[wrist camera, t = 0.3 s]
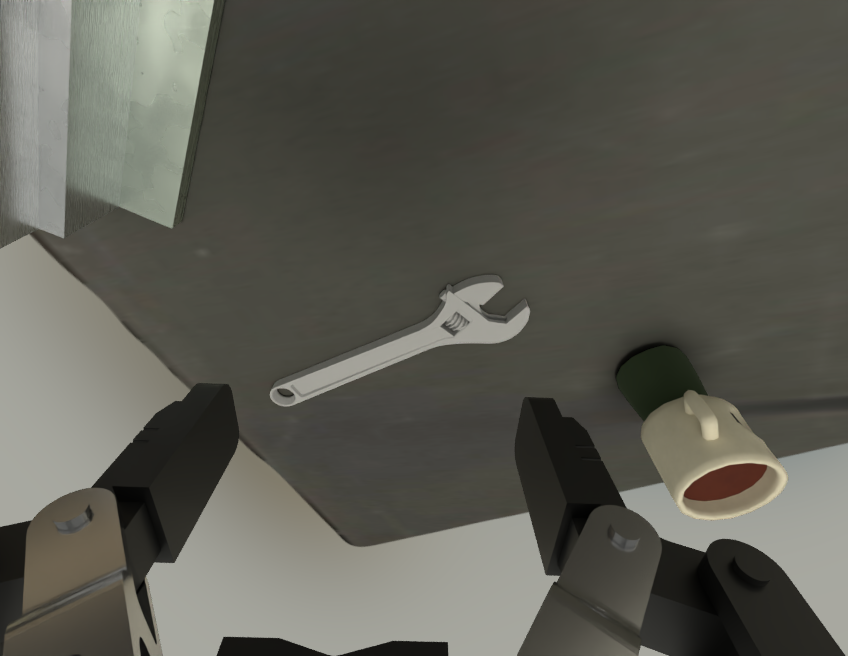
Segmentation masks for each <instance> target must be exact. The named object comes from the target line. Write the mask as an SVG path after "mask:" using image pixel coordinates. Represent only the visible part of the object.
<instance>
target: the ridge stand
mask: <svg viewBox="0 0 848 656" xmlns="http://www.w3.org/2000/svg"><path fill="white" fill-rule="evenodd" d="M224 3H225V0H0V248H2V247H4V246H6V245H8V244H10V243H12V242H14V241H16V240H18V239H20V238H21V237H23V236H26V235H28V234H30V233H32V232H33V231H35V230H37V229H41V230H44V231H46V232H49V233H52V234H54V235H57V236H59V237H62V238H66V237H67V236H69V235H71V234H72V233H74V232H76V231H78V230H79V229H81V228H83V227H85V226H86V225H88V224H90V223H92V222H93V221H95V220H97V219H99V218H100V217H102V216H104V215H106V214H107V213H109V212H111V211H113V210H114V209H116V208H118V207H121V208H124V209H126V210H129V211H131V212H133V213H136V214H138V215H141V216H143V217H145V218H148V219H150V220H153V221H155V222H157V223H160V224H162V225H165V226H167V227H169V228H172V229H173V228H174V227H175V226H176V225H178V224H179V223H180V222H181V221H182V219H183V214H184V209H185V204H186V198H187V193H188V188H189V183H190V178H191V173H192V168H193V163H194V157H195V152H196V147H197V142H198V137H199V132H200V127H201V121H202V116H203V111H204V106H205V101H206V96H207V91H208V86H209V80H210V75H211V70H212V65H213V60H214V55H215V50H216V44H217V39H218V34H219V29H220V24H221V19H222V14H223V8H224Z"/></svg>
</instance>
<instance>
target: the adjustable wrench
mask: <svg viewBox="0 0 848 656" xmlns="http://www.w3.org/2000/svg"><path fill="white" fill-rule="evenodd" d="M502 287H503V283H502V279H501V278H500V277H499V276H498V275H481V276H475V277H472V278H469V279H466V280H464V281H462V282H460V283H458V284H456V285H454V286H451V285H450V284H449V283H448V285H447V286H446V290H443V291H442V292H441V293H440V295H439V297H440V298H441V299H442V300H443V301H442V303H441V304H440V306H439V307H438V309H437V310H436V311H435V312H434V314H433V315H431V316H430V317H429V318H427V319H426V320H424V321H422V322H420V323H418V324H416V325H413V326H411V327H408V328H406V329H403V330H401V331H398V332H396V333H394V334H391V335H389V336H386V337H384V338H381V339H379V340H376V341H374V342H371V343H369V344H366V345H364V346H361V347H359V348H357V349H354V350H352V351H349V352H347V353H344V354H342V355H339V356H337V357H334V358H332V359H329V360H327V361H324V362H322V363H320V364H317V365H315V366H312V367H310V368H307V369H305V370H302V371H300V372H297V373H295V374H292V375H290V376H287V377H285V378H283V379H280V380H278V381H276V382H275V383H274V385H273V387H272V389H271V392H270V397H271V399H272V400H273V402H275V403H276V404H278V405H281V406H292V405H294V404H297V403H299V402H302V401H304V400H307V399H309V398H311V397H314V396H316V395H319V394H321V393H324V392H326V391H328V390H331V389H333V388H336V387H338V386H341V385H343V384H345V383H348V382H350V381H353V380H355V379H358V378H360V377H362V376H365V375H367V374H370V373H372V372H375V371H377V370H379V369H382V368H384V367H387V366H389V365H392V364H394V363H396V362H399V361H401V360H404V359H406V358H409V357H411V356H413V355H416V354H418V353H421V352H423V351H426V350H428V349H431V348H434V347H437V346H441V345H447V344H460V343H499V342H503V341H506V340H508V339H510V338H512V337H513V336H515V335H516V334H518V333H519V332H520V331H521V330H522V329H523V327H524V326H525V324H526V323H527V321H528V319H529V314H530V309H529V306H528V303H527V301H526V299H525V298H524V299H523V300H522V301H521V302H520V303H519V304H517V305H516V306H515V307H514V308H513V309H512V310H511V311H509V312H508V313H507V314H506V315H505V316H501V315H494V314H487V313H486V312H485V311H483V310H482V309H481V308H480V306H479V304H481V305H484V304H485V303H486V302H487V301H488V300H489V299H490V298H491V297H492V296H493V295H495V294H496V293H497V292H498V291H499V290H500V289H501V288H502ZM444 322H445V323H444ZM278 388H285V389H288V390H290V391H292V392H293V393H294V395H293V396H284V395H281V394H280V393H279V392H278V391H277V389H278Z"/></svg>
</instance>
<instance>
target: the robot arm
mask: <svg viewBox="0 0 848 656" xmlns="http://www.w3.org/2000/svg"><path fill="white" fill-rule="evenodd" d="M238 439H239V427H238V422H237V417H236V411H235V406H234V400H233V395H232V390H231V388H230V386H229V385H228V384H208V383H198V384H196V385H195V386H194V387H193V388H192V390H191V391H190V392H189V393H188V394H187V396H186V397H185V398H184V399H183V400H182V401H175V402H173V403H172V404H170V405H168V406H167V407H165V408H164V409H162V410H161V411H159V412H157V413H156V414H155V415H154V416H153V418H152V419H151V420H150V421H149V422H148V423H147V424H146V426H145V427H144V430H143V431H140V433H139V434H138V435H137V436H136V437H135V438H134V439H133V443H130V444H129V445H128V446H127V447H126V449H124V451H123V452H122V453H121V454H120V455H119V456H118V457H117V459H116V460H115V461H114V462H113V463H112V464H111V465H110V467H109V468H108V469H107V470H106V471H105V472H104V473H103V475H102V476H101V477H100V478H99V479H98V480H97V481H96V483H95V484H94V485H93V486H92V487H91V488H86V489H82V490H78V491H75V492H72V493H69V494H67V495H64V496H62V497H60V498H58V499H57V500H55V501H54V502H52V503H50V504H49V505H47V506H46V507H45V508H43V509H42V510H41V511H40V512H39V513H38V514H37V515H36V516H35V517H34V519H33V520H32V521H26V522H22V523H17V524H13V525H8V526H3V527H0V656H163V654H162V649H161V644H160V639H159V634H158V629H157V624H156V619H155V614H154V609H153V604H152V599H151V594H150V589H149V584H148V581H147V578H146V575H147V573H148V572H149V570H150V568H151V567H152V565H153V563H154V562H160V563H174V562H175V561H176V559H177V557H178V555H179V553H180V552H181V550H182V548H183V546H184V544H185V542H186V541H187V539H188V537H189V535H190V533H191V531H192V530H193V528H194V526H195V524H196V522H197V521H198V519H199V517H200V515H201V513H202V511H203V509H204V508H205V506H206V504H207V502H208V500H209V498H210V497H211V495H212V493H213V491H214V489H215V488H216V486H217V484H218V482H219V480H220V479H221V477H222V475H223V473H224V471H225V469H226V468H227V466H228V464H229V462H230V460H231V458H232V457H233V455H234V453H235V450H236V448H237V444H238ZM515 460H516V465H517V469H518V472H519V476H520V480H521V484H522V487H523V491H524V495H525V499H526V503H527V506H528V510H529V514H530V517H531V521H532V525H533V529H534V533H535V536H536V540H537V544H538V548H539V551H540V555H541V559H542V563H543V566H544V570H545V574H546V575H554V576H555V575H557V576H560V577H559V579H558V581H557V583H556V582H554V583H553V585H552V586H551V588H550V590H549V592H548V594H547V596H546V598H545V600H544V602H543V604H542V606H541V608H540V610H539V612H538V614H537V616H536V618H535V620H534V622H533V624H532V626H531V628H530V630H529V632H528V634H527V636H526V638H525V640H524V642H523V644H522V646H521V648H520V650H519V652H518V654H517V656H638V654H639V650H640V646H641V645H642V646H645V647H647V648H650V649H653V650H655V651H658V652H661V653H663V654H666V655H669V656H845V654H844V653H843V652H842V650H841V649H840V648H839V646H838V645H837V643H836V642H835V641H834V639H833V638H832V637H831V635H830V634H829V632H828V631H827V630H826V628H825V627H824V626H823V624H822V623H821V621H820V620H819V619H818V617H817V616H816V614H815V613H814V612H813V610H812V609H811V608H810V606H809V605H808V603H807V602H806V601H805V599H804V598H803V597H802V595H801V594H800V593H799V591H798V590H797V588H796V587H795V585H794V584H793V583H792V581H791V580H790V579H789V577H788V576H787V575H786V573H785V572H784V571H783V570H782V568H781V567H780V566H779V565H777V563H776V562H774V561H773V560H772V559H771V558H769V557H768V556H767V555H765V554H764V553H763V552H761V551H759V550H758V549H756V548H754V547H752V546H750V545H748V544H745V543H743V542H740V541H736V540H731V539H719V540H716V541H714V542H712V543H711V544H710V545H709V547H708V549H707V551H706V553H705V552H702V551H699V550H695V549H692V548H689V547H686V546H682V545H679V544H676V543H672V542H670V541H667V540H664V539H662V538H660V537H659V536H658V534H657V532H656V531H655V529H654V528H653V527H652V526H651V524H650V523H649V522H648V521H646V520H645V519H644V518H643V517H641V516H640V515H639V514H637V513H635V512H633V511H631V510H629V509H627V508H626V506H625V504H624V502H623V500H622V498H621V496H620V494H619V492H618V490H617V488H616V487H615V485H614V483H613V481H612V479H611V477H610V475H609V473H608V471H607V469H606V467H605V465H604V463H603V461H601V457H600V455H599V453H598V452H597V450H596V449H595V448H594V444H593V442H592V440H591V438H590V436H589V434H588V432H587V430H585V429H584V428H583V427H582V426H581V425H580V424H579V423H578V422H577V421H576V420H575V419H574V418H572V417H562V415H561V413H560V411H559V409H558V407H557V404H556V402H555V400H554V399H553V398H535V397H525V398H524V400H523V403H522V408H521V413H520V418H519V423H518V429H517V434H516V439H515ZM217 656H330V655H326V654H324V653H321V652H317V651H315V650H312V649H309V648H306V647H303V646H301V645H298V644H295V643H292V642H289V641H286V640H283V639H280V638H251V637H247V638H246V637H223V640H222V643H221V645H220V648H219V651H218V654H217ZM338 656H448V642H416V641H413V642H412V641H391V642H387V643H384V644H380V645H377V646H372V647H369V648H365V649H361V650H358V651H354V652H350V653H347V654H343V655H338Z"/></svg>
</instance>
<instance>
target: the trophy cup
mask: <svg viewBox="0 0 848 656" xmlns="http://www.w3.org/2000/svg"><path fill="white" fill-rule="evenodd" d="M616 380H617V384H618V388H619V389H620V391H621V392H622V394H623V395H624V397H625V398H626V399H627V401H628V402H629V403H630V405H631V406H632V407H633V408H634V410H635V411H636V412H637V413H638V415H639V416H640V417H641V418H642V420H643V421H644V423H643V424H642V429H641V439H642V441H643V443H644V445H645V447H646V449H647V451H648V453H649V455H650V457H651V458H652V460H653V462H654V464H655V466H656V468H657V470H658V472H659V474H660V475H661V477H662V479H663V481H664V483H665V485H666V487H667V488H668V490H669V492H670V494H671V496H672V498H673V500H674V501H675V503H676V505H677V506H678V508H679V509H680V511H681V512H682V513H683V514H685V515H687V516H690V517H692V518H694V519H703V520H711V521H712V520H721V519H730V518H734V517H737V516H740V515H744V514H747V513H750V512H752V511H754V510H756V509H758V508H760V507H762V506H764V505H766V504H768V503H769V502H771V501H772V500H773V499H774V498H775V497H776V496H778V495H779V494H780V493H781V492H782V491H783V489H784V487H785V486H786V484H787V481H788V474H787V472H786V471H785V469H784V468H783V466H782V465H781V464H780V462H779V461H778V460H777V458H776V457H775V456H774V455H773V454H772V452H771V451H770V450H769V449H768V447H767V446H766V444H765V443H764V441H763V440H761V439H760V438H759V437H757V436H756V435H755V434H754V433H753V432H752V430H751V429H750V428H749V426H748V425H747V423H746V422H745V420H744V419H743V418H742V416H741V415H740V413H739V411H738V410H737V408H736V407H735V406H733V405H732V404H730V403H729V402H727V401H725V400H724V399H721V398H717V397H712V396H708V395H707V393H706V391H705V389H704V387H703V385H702V383H701V381H700V379H699V377H698V375H697V373H696V371H695V370H694V368H693V366H692V365H691V363H690V361H689V360H688V358H687V357H686V355H684V354H683V353H682V352H681V351H680V350H679V349H678V348H674V347H669V346H664V345H663V346H659V347H656V348H652V349H648V350H646V351H644V352H642V353H640V354H638V355H636V356H634V357H632V358H631V359H630V360H628V361H627V362H626V363H625V364H624V365H623V366H621V368H620V370H619V372H618V374H617V377H616Z"/></svg>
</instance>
